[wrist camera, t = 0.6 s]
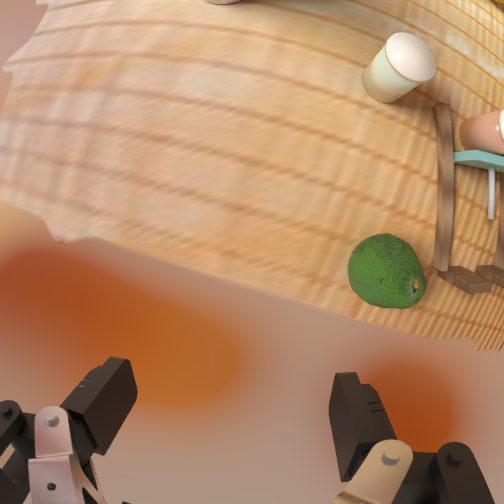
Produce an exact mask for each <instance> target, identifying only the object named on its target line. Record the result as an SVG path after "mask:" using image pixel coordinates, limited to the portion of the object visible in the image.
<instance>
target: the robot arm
mask: <svg viewBox="0 0 504 504" xmlns="http://www.w3.org/2000/svg"><path fill="white" fill-rule="evenodd" d="M204 1H206V2H209V3H214V4H229V3H234V2H238V1H241V0H204ZM136 399H137V386H136V382H135V379H134V375H133V371H132V367H131V363H130V361H129V360H128V359H124V358H118V357H113V356H112V357H110V358H108V360H107V361H106V362H105V363H104V364H103V365H102V366H98V367H97V368H95V369H93V370H91V371H90V372H89V373H88V374H87V375H86V376H85V377H84V380H82V381H81V382H80V383H79V384H78V386H77V387H76V388H75V389H74V390H73V391H72V393H71V394H70V395H69V396H68V397H67V398H66V399H65V401H64V402H63V403H62V404H61V405H60V406H59V407H57V406H50V407H46V408H43V409H42V410H40V411H39V412H38V414H31V413H23V412H22V410H21V408H20V406H19V405H18V403H16V402H15V401H11V400H6V401H2V402H0V456H1V455H2V454H3V452H4V451H5V450H6V448H7V447H8V446H9V444H11V445H12V447H13V448H14V449H15V451H14V452H13V454H12V455H11V457H10V458H9V460H8V461H7V462H6V464H5V465H4V467H3V468H2V470H1V468H0V504H23V502H24V500H25V499H26V497H27V495H28V493H29V492H30V490H31V498H32V504H107V502H106V500H105V499H104V496H103V494H102V491H101V488H100V485H99V481H98V478H97V475H96V471H95V467H94V464H93V461H92V458H91V456H92V454H93V453H97V454H100V455H103V456H104V455H105V454H106V452H107V450H108V448H109V447H110V445H111V443H112V441H113V440H114V438H115V436H116V434H117V433H118V431H119V429H120V427H121V426H122V424H123V422H124V421H125V419H126V417H127V415H128V414H129V412H130V410H131V409H132V407H133V405H134V403H135V402H136ZM329 418H330V424H331V429H332V434H333V440H334V445H335V451H336V456H337V462H338V468H339V473H340V479H341V482H348V481H350V482H349V484H348V485H347V487H346V488H345V489H344V491H343V492H342V493H340V494H339V495H338V496H337V497H336V498H335V499H334V501H333V502H332V503H331V504H495V503H494V500H493V498H492V495H491V493H490V490H489V488H488V486H487V483H486V481H485V479H484V476H483V474H482V472H481V470H480V468H479V466H478V463H477V461H476V459H475V457H474V455H473V453H472V451H471V450H470V448H469V447H468V446H466V445H465V444H463V443H459V442H450V443H446V444H444V445H443V446H442V447H441V448H440V449H439V450H438V452H437V453H425V452H413V451H412V450H411V449H410V447H409V446H408V445H406V444H405V443H403V442H401V441H398V440H397V438H396V436H395V433H394V430H393V428H392V426H391V423H390V421H389V418H388V416H387V414H386V411H385V410H384V406H383V404H382V403H381V399H380V397H379V395H378V392H377V391H376V390H375V389H374V388H373V387H371V385H369V384H361V383H360V381H359V378H358V376H357V373H356V372H346V373H336V374H335V378H334V383H333V387H332V392H331V397H330V402H329ZM122 504H129V503H127V502H122Z"/></svg>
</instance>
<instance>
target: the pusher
mask: <svg viewBox="0 0 504 504" xmlns="http://www.w3.org/2000/svg"><path fill="white" fill-rule="evenodd" d="M453 154H454V163H457V164H463V165H468V166H473V167H478V168H483V169H487V170H488V173H489V192H488V217H487V219H492V220H494V205H495V171H496V172H504V157H502V156H498V155H495V154H491V153H487V152H483V151H479V150H469V151H461V152H454V153H453Z"/></svg>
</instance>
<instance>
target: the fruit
mask: <svg viewBox="0 0 504 504" xmlns="http://www.w3.org/2000/svg"><path fill="white" fill-rule="evenodd" d="M348 276H349V282H350V285H351V287H352V289H353V290H354V292H355V293H356V294H357V295H358V296H359V297H360V298H361V299H362V300H364V301H365V302H367V303H368V304H370V305H374V306H378V307H381V308H397V309H403V308H409V307H411V306H413V305H415V304H416V303H418V302H419V301H420V299H421V298H422V297H423V295H424V293H425V289H426V283H427V282H426V279H425V277H424V274H423V271H422V268H421V266H420V264H419V261H418V259H417V256H416V254H415V252H414V251H413V249H412V248H411V246H410V245H409V244H408V243H406V242H405V241H403V240H401V239H399V238H397V237H395V236H393V235H391V234H389V233H386V234H378V235H374V236H371V237H368V238H367V239H365V240H364V241H362V242H361V243H360V244H359V245H358V246H357V247H356V248H355V250H354V251H353V252H352V255H351V257H350V259H349V264H348Z"/></svg>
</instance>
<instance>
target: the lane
mask: <svg viewBox="0 0 504 504" xmlns="http://www.w3.org/2000/svg"><path fill="white" fill-rule="evenodd" d="M434 114H435V124H436V137H437V157H438V202H437V222H436V236H435V246H434V256H433V264H432V267H434V268H436V269H437V270H438V275H439V276H440V277H442V278H444V279H445V280H447V281H449V282H450V283H452V284H454V285H455V286H457V287H458V288H460V289H462V290H463V291H465V292H466V293H468V294H473V293H483V292H491V288H492V283H495V284H497V285H499V286H501V287H503V288H504V172H500V214H499V228H498V238H497V247H496V255H495V262H494V265H484V266H477V269H476V274H475V273H473V272H471V271H469V270H467V269H465V268H463V267H461V266H448V263H449V255H450V247H451V236H452V224H453V206H454V154H453V137H452V125H451V115H450V106H449V105H448V104H445V103H441V104H439V105H436V106H434ZM500 156H502V157H504V154H502V155H500ZM477 274H478V275H477ZM479 275H480V276H479ZM481 276H482V277H481ZM483 277H484V278H483ZM485 278H486V279H485ZM487 279H488V280H487Z"/></svg>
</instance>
